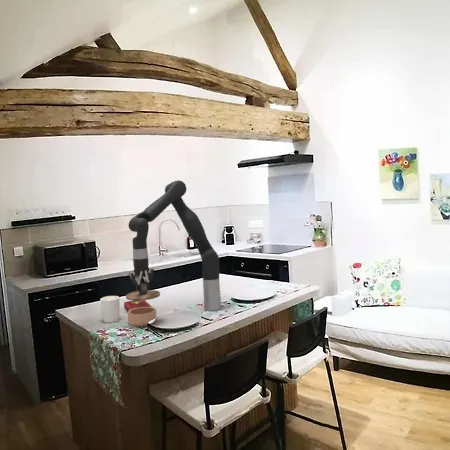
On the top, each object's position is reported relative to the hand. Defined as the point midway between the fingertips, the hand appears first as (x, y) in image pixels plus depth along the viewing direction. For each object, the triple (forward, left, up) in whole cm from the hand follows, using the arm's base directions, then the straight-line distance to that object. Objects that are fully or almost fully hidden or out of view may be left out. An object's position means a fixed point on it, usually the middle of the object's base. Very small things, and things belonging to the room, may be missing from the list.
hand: (142, 290), depth 226 cm
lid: (0, 0, -3) cm, 3 cm away
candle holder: (+20, -6, -17) cm, 27 cm away
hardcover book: (+11, -24, -18) cm, 32 cm away
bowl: (+2, -2, -17) cm, 17 cm away
